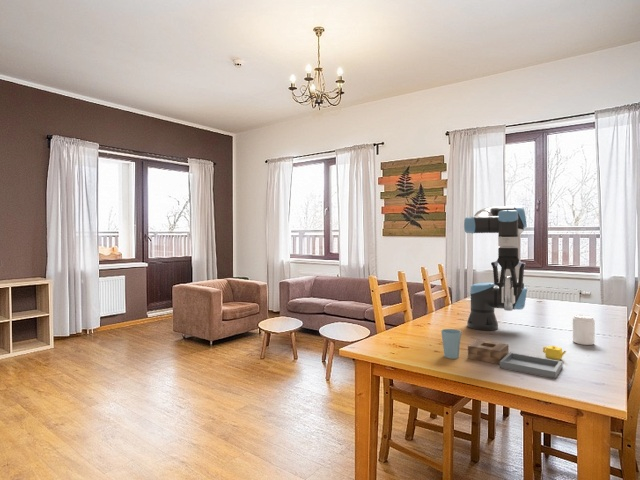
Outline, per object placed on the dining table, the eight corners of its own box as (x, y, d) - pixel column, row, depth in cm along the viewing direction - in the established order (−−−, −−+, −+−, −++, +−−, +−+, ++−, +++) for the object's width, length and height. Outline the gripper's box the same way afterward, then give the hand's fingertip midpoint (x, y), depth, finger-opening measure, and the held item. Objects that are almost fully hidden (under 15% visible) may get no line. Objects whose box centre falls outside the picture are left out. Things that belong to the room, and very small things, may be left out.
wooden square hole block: (468, 358, 157) (468, 345, 157) (478, 351, 166) (478, 339, 166) (499, 364, 149) (499, 351, 149) (508, 356, 158) (508, 344, 158)
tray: (499, 367, 145) (499, 361, 145) (509, 358, 156) (509, 352, 156) (555, 378, 134) (555, 371, 134) (562, 367, 145) (562, 361, 144)
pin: (503, 310, 165) (503, 276, 165) (505, 308, 168) (505, 276, 167) (511, 311, 163) (511, 277, 163) (513, 309, 166) (513, 276, 165)
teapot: (568, 359, 154) (568, 346, 154) (564, 363, 150) (564, 349, 150) (546, 355, 160) (546, 342, 160) (541, 358, 156) (541, 345, 156)
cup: (439, 353, 163) (439, 328, 163) (458, 353, 163) (458, 328, 162) (443, 359, 156) (443, 333, 155) (463, 359, 155) (463, 333, 155)
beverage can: (584, 346, 170) (584, 319, 170) (568, 341, 178) (568, 315, 178) (599, 344, 173) (599, 317, 172) (582, 340, 180) (582, 314, 180)
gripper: (485, 247, 167) (485, 302, 168) (527, 247, 157) (527, 306, 157) (490, 246, 173) (490, 299, 173) (531, 247, 163) (531, 303, 163)
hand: (508, 302), depth 165 cm, fingers closed on pin, 3 cm apart
